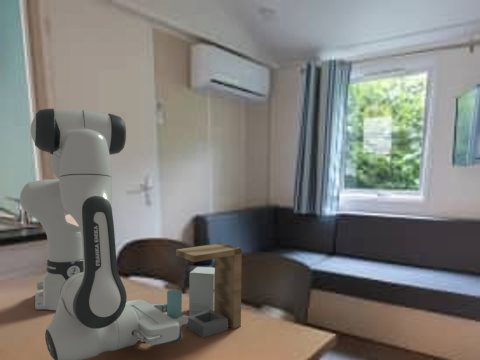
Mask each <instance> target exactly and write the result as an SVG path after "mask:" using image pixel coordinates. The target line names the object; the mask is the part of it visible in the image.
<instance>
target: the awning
mask: <svg viewBox="0 0 480 360" xmlns="http://www.w3.org/2000/svg"><path fill="white" fill-rule="evenodd" d="M242 249H243V248H241V247H239V246H234V245H231V244H227V243H225V242H217V243H211V244H205V245H198V246H192V247H184V248H177V249H176V251H175V255H176V256H177V257H180V258H182V259H184V260H188V261H191V262H193V263H196V262H203V261H207V260H208V261H209V260H213V259H214V268H215V296H214V311H215V312H217V313H218V314H220V315H222V316H224V317H226V318H228V328H229V327H230V328H231V329H233V330H234V329H237V328H241V326H242V262H243V261H242V257H243V256H242V253H243V252H242Z"/></svg>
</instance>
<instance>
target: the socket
mask: <svg viewBox="0 0 480 360" xmlns="http://www.w3.org/2000/svg"><path fill="white" fill-rule="evenodd" d="M187 316H188V323H187V324H186V328H187V329H189V330H190V331H192V332H193V333H195V334H196V335H198V336H199V337H201V338H202V339H204V338H206V337H210V336H213V335H216V334H219V333H222V332H225V331H228V330H229V326H228V318H226V317H224V316H222V315H220V314H218V313H217V312H215V311H213V310H208V311H204V312H201V313H197V314H193V315H187Z"/></svg>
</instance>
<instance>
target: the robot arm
mask: <svg viewBox="0 0 480 360" xmlns="http://www.w3.org/2000/svg"><path fill="white" fill-rule="evenodd" d="M34 115H35V116H34V117H33V119H32V120H31V124H30V134H31V139H32V141H33V143H34V145H35V147H36V148H37V149H39V150H40V151H43V152H45V153H49V154H50V155H51V157H50V169H51V172H52V173H53V174H54V175H55V177H57V179H40V180H33V181H30V182H27V183H26V184H25V185H24V186H23V187H22V189H21V192H20V195H19V201H20V205H21V207H22V209H23V210H24V211H25V212H26V213H27V214H28V215H31V216H32V217H33V218H34V219H36V220H37V221H38V222H39V223H40V224H41V227H42V228H43V229H44V231H45V235H46V239H47V246H48V247H47V249H48V259H47V261H46V273H45V274H44V276H43V278H42V281H39V282H36V287H37V288H36V289H37V290H38V291H37V292H35V294H34V295H35V296H34V298H35V299H34V309H35V310H49V311H55V312H54V316H53V317H52V320H51V322H50V323H49V325H48V326H47V328H46V329H45V333H44V335H45V336H44V338H45V343H46V346H47V347H46V348H47V350H48V352H49V356H50V357H51V358H52V359H53V360H88V359H91V358H94V357H96V356H99V355H100V354H102V353H105V352H114V351H118V350H121V349H125V348H128V347H131V346H134V345H136V344H137V342H138V341H139V342H141V343H145V344H147V345H150V346H154V345H160V344H161V345H162V344H165V343H171V342H170V341H174V340H176V339H177V338H178V337H179V333H180V327H181V328H182V326H183V325H187V323H188V316H189V315H186V314H182V315H180V316H179V318H178V319H172V318H171V317H169V316H167V302H166V303H161V304H159V303H157V304H156V303H152V304H150V303H149V302H147V301H146V300H145V299H133V300H127V296H128V295H127V290H126V288H125V285H124V283H123V281H122V278H121V276H120V274H119V269H118V262H117V251H116V250H117V249H116V235H115V226H114V225H115V224H114V223H115V222H114V218H113V217H114V216H113V215H114V214H113V205H112V202H113V201H112V200H113V198H112V195H113V193H112V189H113V188H112V187H113V186H112V182H113V180H112V161H111V155H116V154H120V153H121V152H122V151H123V150H124V148H125V144H126V143H127V138H128V130H127V127H126V123H125V121H124V120H123V118H122V117H121V116H119V115H116V114H114V113H113V114H112V113H108V114H107V113H104V112H103V113H102V112H99V111H93V110H87V109H85V110H84V109H82V110H81V109H80V110H79V109H54V108H43V109H39V110H38V111H37V112H36V113H35V114H34ZM68 215H70V216H71V217H72V218H73V220H74V221H75V223H76V224H77V225H75V224H73V223H71V222H68V221H67V219H66V216H68Z"/></svg>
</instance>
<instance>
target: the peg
mask: <svg viewBox="0 0 480 360" xmlns="http://www.w3.org/2000/svg"><path fill="white" fill-rule="evenodd" d="M182 293H183V292H182V290H181V289H170V290H167V292H166V304H167V312H166V315H167V316H169V317H171V318H172V319H178V318H179V316H180V315H183V314H182V312H183V311H182V310H183V309H182V304H183V303H182V301H183V299H182ZM181 340H182V326H181V327H180V333H179V337H178V338H177V339H176V340H174V341H170V342H169V343H177V342H180V341H181Z"/></svg>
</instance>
